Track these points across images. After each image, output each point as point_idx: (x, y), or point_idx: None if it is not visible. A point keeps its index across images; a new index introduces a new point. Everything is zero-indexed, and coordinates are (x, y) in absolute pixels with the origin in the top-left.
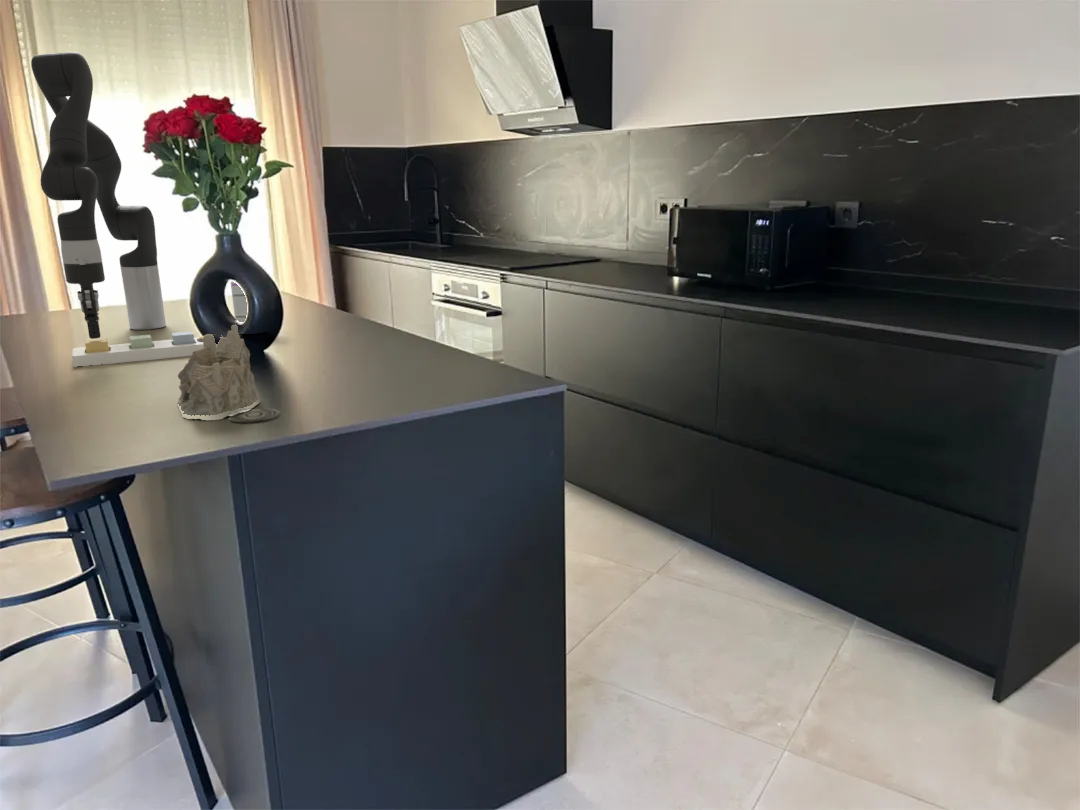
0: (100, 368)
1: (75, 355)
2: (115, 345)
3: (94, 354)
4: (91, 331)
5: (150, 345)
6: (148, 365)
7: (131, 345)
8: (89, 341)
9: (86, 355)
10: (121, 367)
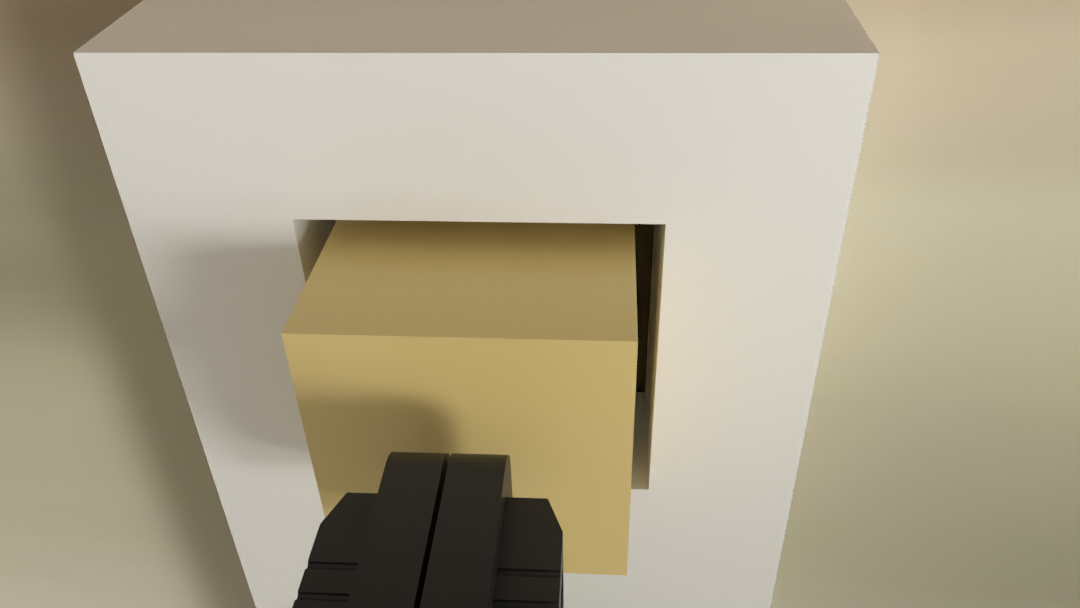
0: (24, 275)
1: (127, 103)
2: (705, 532)
3: (167, 324)
4: (307, 582)
5: None
6: (80, 591)
7: None
8: (456, 389)
9: (140, 235)
10: (37, 433)
